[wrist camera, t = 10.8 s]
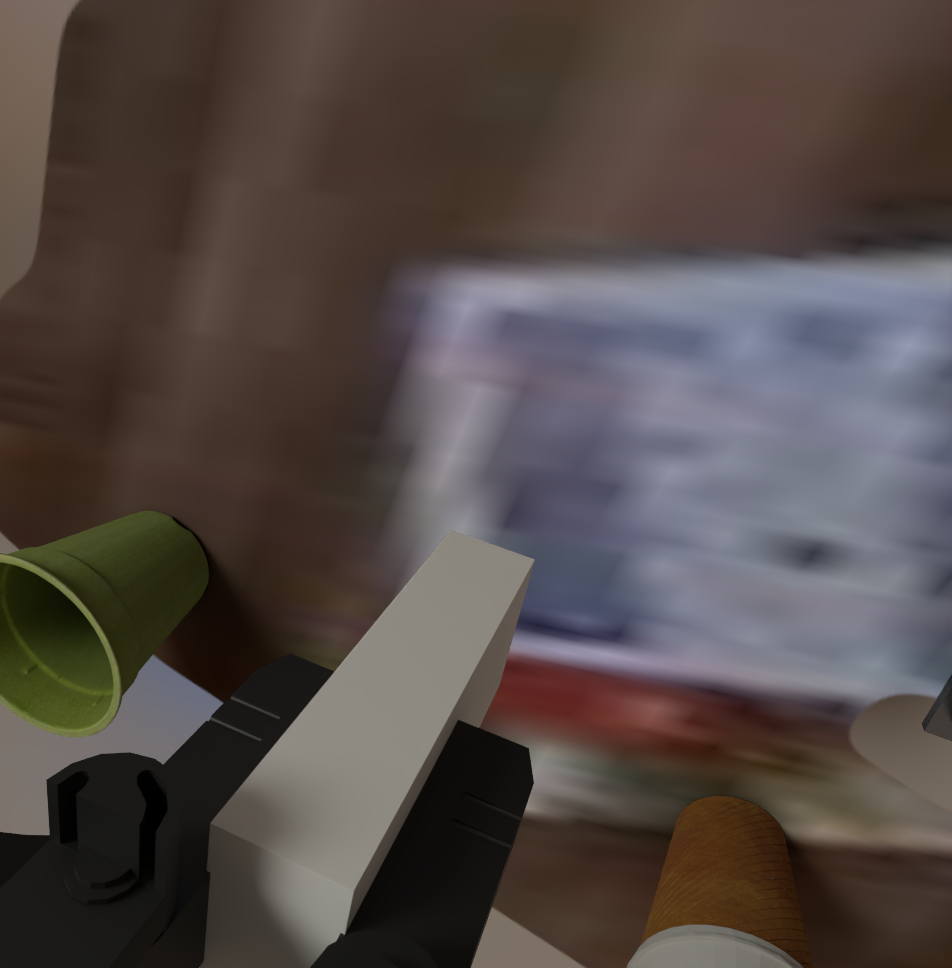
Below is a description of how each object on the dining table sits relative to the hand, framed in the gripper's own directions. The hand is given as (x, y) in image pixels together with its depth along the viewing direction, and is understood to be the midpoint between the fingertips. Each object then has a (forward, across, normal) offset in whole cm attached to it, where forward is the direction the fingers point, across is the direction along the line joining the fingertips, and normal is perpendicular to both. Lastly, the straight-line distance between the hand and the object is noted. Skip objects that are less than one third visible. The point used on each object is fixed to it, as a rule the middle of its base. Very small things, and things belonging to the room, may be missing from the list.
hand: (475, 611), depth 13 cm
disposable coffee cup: (+27, +13, -28) cm, 41 cm away
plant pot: (+27, -26, -24) cm, 44 cm away
